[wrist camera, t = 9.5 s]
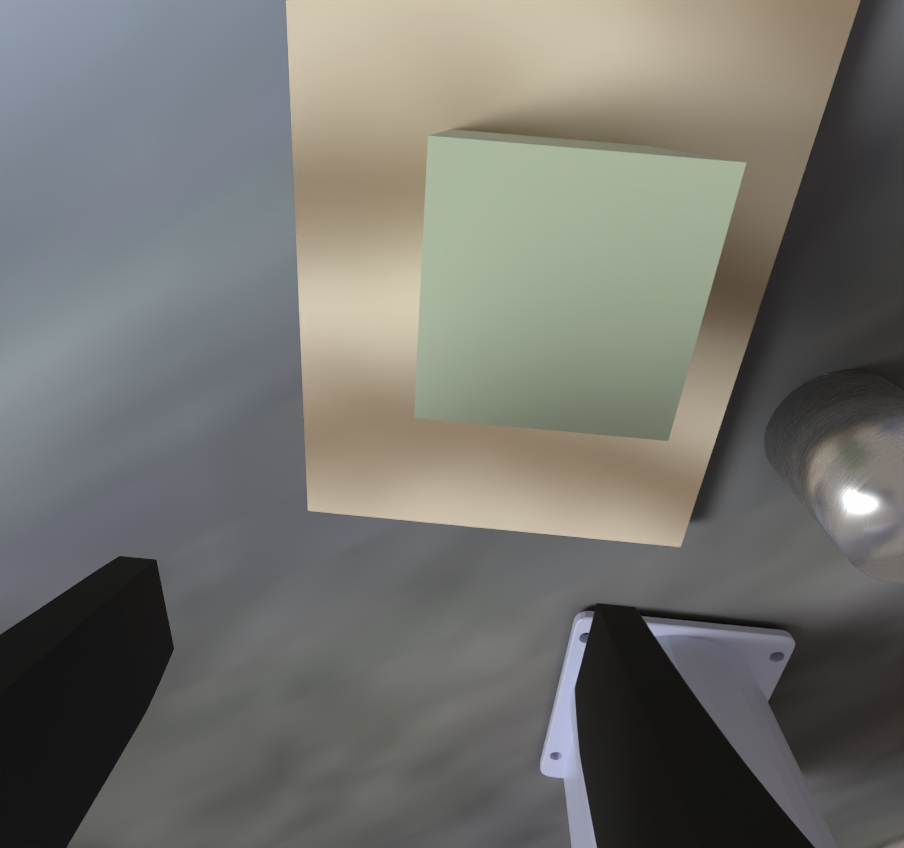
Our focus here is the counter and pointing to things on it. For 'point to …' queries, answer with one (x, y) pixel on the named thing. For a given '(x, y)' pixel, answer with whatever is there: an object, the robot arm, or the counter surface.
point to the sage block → (565, 280)
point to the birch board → (545, 115)
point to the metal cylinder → (847, 464)
